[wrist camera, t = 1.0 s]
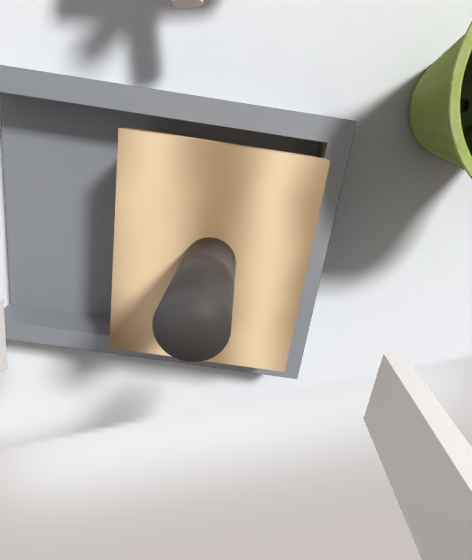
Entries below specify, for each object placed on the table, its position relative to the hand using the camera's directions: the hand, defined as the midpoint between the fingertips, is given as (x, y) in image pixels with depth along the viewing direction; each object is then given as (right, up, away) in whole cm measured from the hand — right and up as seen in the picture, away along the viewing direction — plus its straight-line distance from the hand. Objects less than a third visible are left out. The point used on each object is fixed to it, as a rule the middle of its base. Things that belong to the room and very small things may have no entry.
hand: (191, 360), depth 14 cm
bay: (-4, +7, +18) cm, 20 cm away
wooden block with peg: (0, +6, +16) cm, 17 cm away
